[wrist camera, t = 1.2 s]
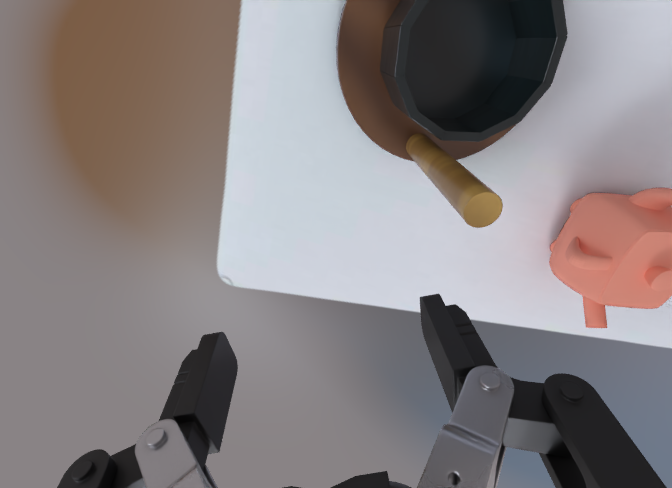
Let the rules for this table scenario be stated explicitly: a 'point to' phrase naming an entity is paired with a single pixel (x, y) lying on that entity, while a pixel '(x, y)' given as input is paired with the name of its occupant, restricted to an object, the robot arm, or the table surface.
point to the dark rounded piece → (447, 81)
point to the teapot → (617, 251)
